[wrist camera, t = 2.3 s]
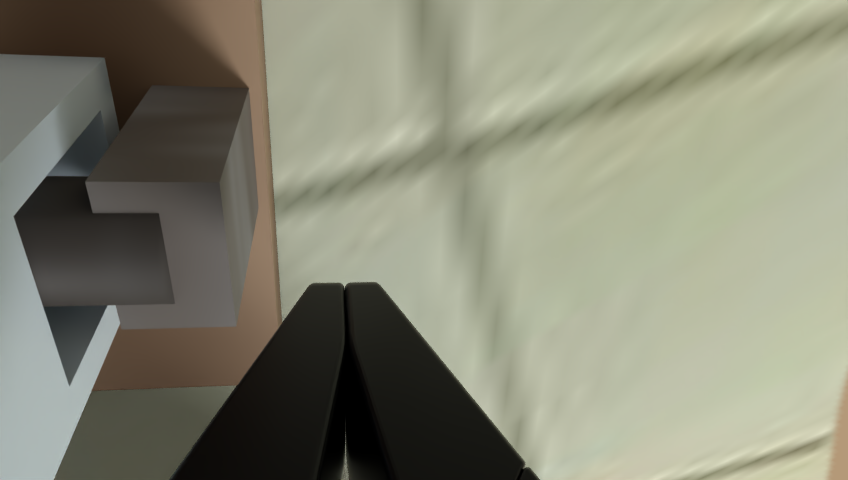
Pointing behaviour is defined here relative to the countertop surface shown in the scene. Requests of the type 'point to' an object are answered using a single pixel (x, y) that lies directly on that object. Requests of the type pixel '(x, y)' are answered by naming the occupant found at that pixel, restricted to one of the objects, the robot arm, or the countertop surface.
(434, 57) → the countertop surface
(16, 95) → the white sleeve
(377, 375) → the robot arm
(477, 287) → the countertop surface
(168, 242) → the dumbbell on board
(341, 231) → the countertop surface
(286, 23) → the countertop surface
